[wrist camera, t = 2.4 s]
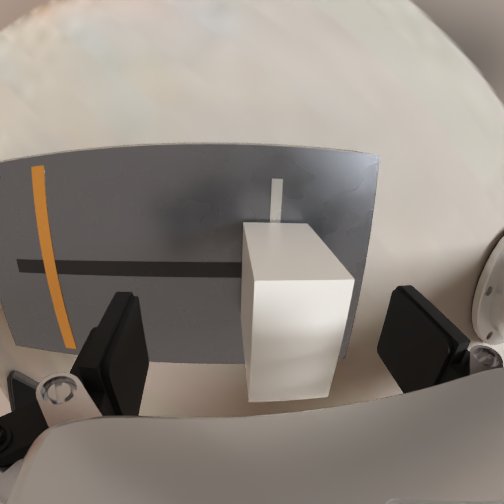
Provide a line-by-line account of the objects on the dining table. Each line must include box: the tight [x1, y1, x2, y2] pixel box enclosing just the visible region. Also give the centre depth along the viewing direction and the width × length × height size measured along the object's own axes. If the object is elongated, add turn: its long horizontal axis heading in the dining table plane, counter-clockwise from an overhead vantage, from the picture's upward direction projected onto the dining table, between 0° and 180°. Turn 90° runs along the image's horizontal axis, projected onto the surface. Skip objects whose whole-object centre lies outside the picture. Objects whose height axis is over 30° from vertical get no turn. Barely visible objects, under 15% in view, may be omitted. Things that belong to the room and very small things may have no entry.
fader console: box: [0, 143, 379, 364], centre depth 17 cm, size 22×12×3 cm, turn 88°
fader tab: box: [241, 222, 355, 402], centre depth 13 cm, size 3×5×6 cm, turn 178°
